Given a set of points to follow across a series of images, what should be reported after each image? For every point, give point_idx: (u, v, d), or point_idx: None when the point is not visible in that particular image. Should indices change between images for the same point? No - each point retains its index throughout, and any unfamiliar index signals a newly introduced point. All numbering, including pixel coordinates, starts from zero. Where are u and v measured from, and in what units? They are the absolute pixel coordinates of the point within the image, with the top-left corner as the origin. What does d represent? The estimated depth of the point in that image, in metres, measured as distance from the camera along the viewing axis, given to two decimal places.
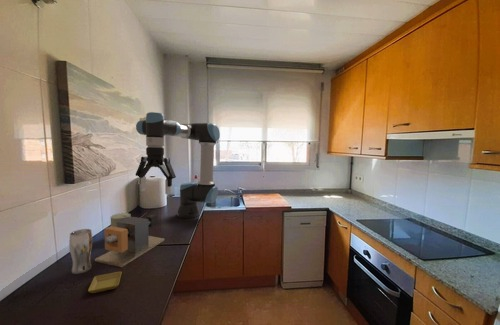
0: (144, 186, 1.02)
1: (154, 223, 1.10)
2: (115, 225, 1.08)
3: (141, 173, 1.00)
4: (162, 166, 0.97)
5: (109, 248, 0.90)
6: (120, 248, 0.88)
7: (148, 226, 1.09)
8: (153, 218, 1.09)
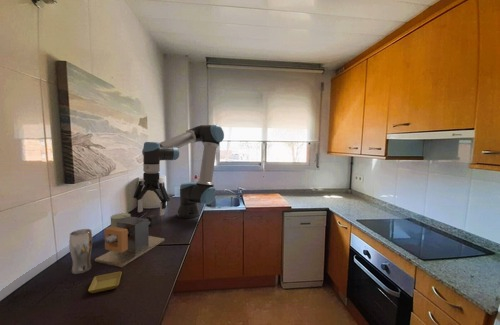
0: (141, 207, 1.12)
1: (154, 223, 1.10)
2: (115, 225, 1.08)
3: (138, 196, 1.10)
4: (157, 190, 1.08)
5: (109, 248, 0.90)
6: (120, 248, 0.88)
7: (148, 226, 1.09)
8: (153, 218, 1.09)
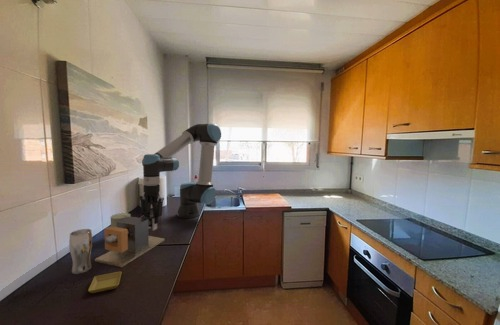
0: None
1: None
2: (115, 225, 1.08)
3: (145, 212, 1.10)
4: (155, 204, 1.09)
5: (109, 248, 0.90)
6: (120, 248, 0.88)
7: (148, 226, 1.09)
8: None
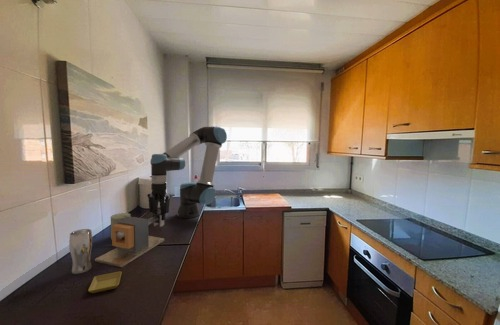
0: None
1: None
2: None
3: (153, 209, 1.15)
4: (162, 201, 1.14)
5: (116, 244, 0.93)
6: (127, 244, 0.91)
7: (155, 222, 1.14)
8: None
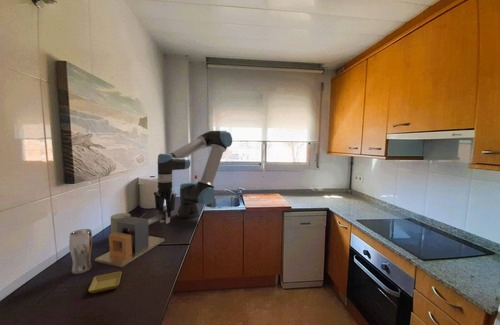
0: None
1: None
2: (115, 225, 1.08)
3: (159, 207, 1.20)
4: (168, 199, 1.19)
5: (114, 253, 0.92)
6: (125, 253, 0.90)
7: (162, 219, 1.19)
8: None
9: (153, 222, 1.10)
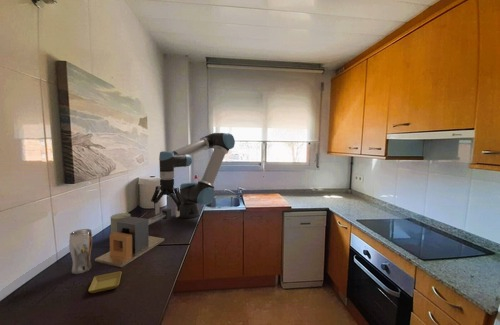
0: (158, 210, 1.24)
1: (168, 216, 1.21)
2: (115, 225, 1.08)
3: (156, 199, 1.22)
4: (173, 194, 1.20)
5: (114, 253, 0.92)
6: (125, 253, 0.90)
7: None
8: (168, 211, 1.21)
9: (155, 221, 1.12)
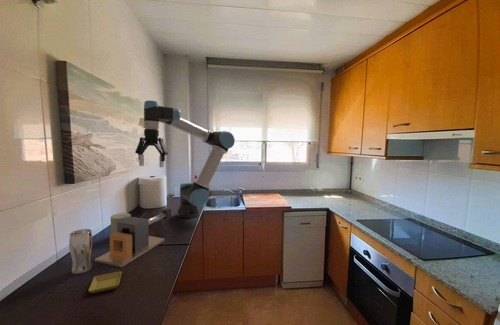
0: (142, 162, 1.23)
1: (168, 216, 1.21)
2: (115, 225, 1.08)
3: (140, 151, 1.22)
4: (157, 145, 1.19)
5: (114, 253, 0.92)
6: (125, 253, 0.90)
7: None
8: (168, 211, 1.21)
9: (155, 221, 1.12)
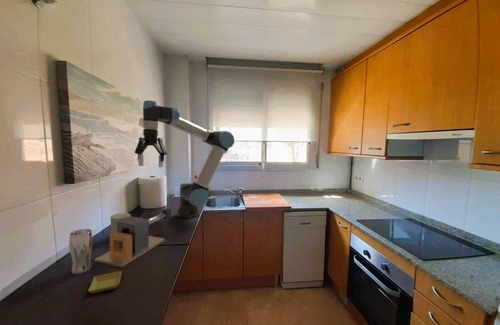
0: (142, 162, 1.24)
1: (168, 216, 1.21)
2: (115, 225, 1.08)
3: (139, 151, 1.22)
4: (156, 145, 1.19)
5: (114, 253, 0.92)
6: (125, 253, 0.90)
7: None
8: (168, 211, 1.21)
9: (155, 221, 1.12)
